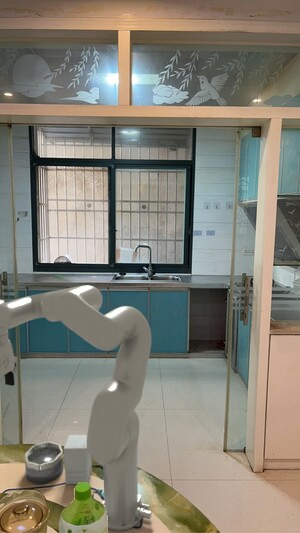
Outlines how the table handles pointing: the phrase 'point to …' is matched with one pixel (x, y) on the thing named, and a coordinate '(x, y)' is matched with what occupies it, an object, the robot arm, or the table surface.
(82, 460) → the supplement box
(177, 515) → the table surface
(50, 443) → the bowl
